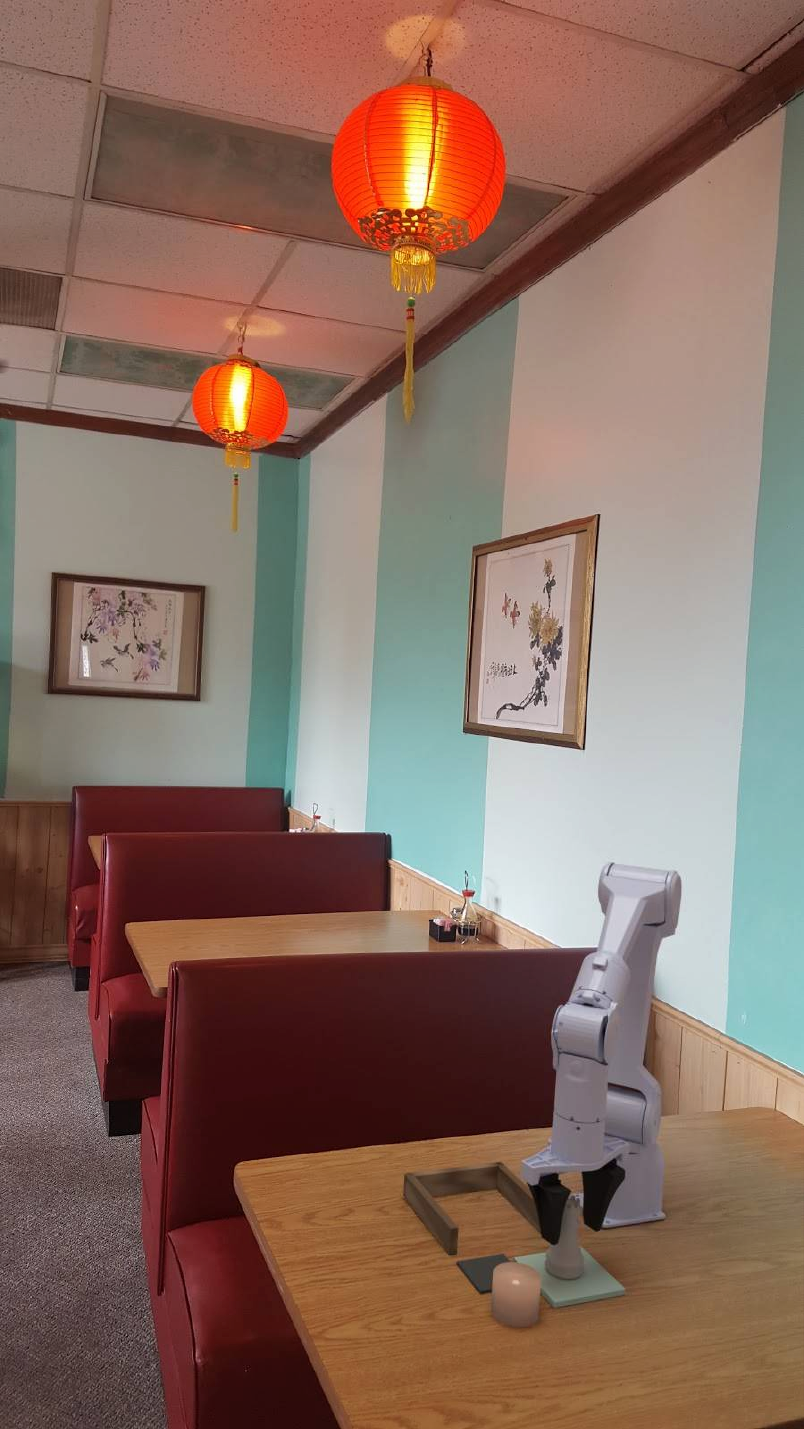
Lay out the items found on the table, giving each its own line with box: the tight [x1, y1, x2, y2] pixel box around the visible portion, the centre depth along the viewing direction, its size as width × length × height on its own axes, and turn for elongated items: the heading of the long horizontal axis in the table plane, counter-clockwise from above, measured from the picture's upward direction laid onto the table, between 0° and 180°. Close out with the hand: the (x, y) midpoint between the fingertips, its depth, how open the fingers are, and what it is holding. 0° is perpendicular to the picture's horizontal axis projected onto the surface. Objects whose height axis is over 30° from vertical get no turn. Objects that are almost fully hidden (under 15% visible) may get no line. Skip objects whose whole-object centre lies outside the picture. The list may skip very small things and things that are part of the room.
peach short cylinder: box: [490, 1261, 541, 1329], centre depth 105 cm, size 5×5×4 cm
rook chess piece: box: [545, 1194, 584, 1280], centre depth 113 cm, size 4×4×8 cm
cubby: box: [402, 1161, 541, 1255], centre depth 125 cm, size 14×14×3 cm
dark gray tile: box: [456, 1253, 511, 1295], centre depth 112 cm, size 6×6×1 cm
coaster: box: [512, 1246, 626, 1309], centre depth 112 cm, size 9×9×1 cm
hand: (571, 1233), depth 112 cm, fingers open, 6 cm apart
